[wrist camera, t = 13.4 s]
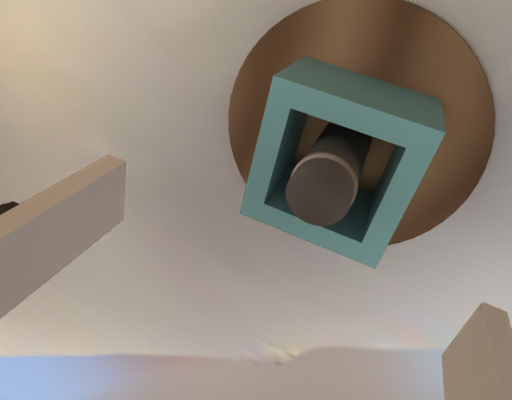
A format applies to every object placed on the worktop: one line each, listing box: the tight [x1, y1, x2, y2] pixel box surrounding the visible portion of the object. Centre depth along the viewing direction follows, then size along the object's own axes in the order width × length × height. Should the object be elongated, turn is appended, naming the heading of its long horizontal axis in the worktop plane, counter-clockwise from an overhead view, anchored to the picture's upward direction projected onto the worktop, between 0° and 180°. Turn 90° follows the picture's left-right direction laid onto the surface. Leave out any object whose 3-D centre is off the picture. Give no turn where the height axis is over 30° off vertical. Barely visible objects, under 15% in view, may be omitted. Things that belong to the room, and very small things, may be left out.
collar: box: [240, 56, 446, 268], centre depth 22 cm, size 8×8×6 cm
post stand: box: [229, 0, 495, 245], centre depth 22 cm, size 16×16×9 cm
